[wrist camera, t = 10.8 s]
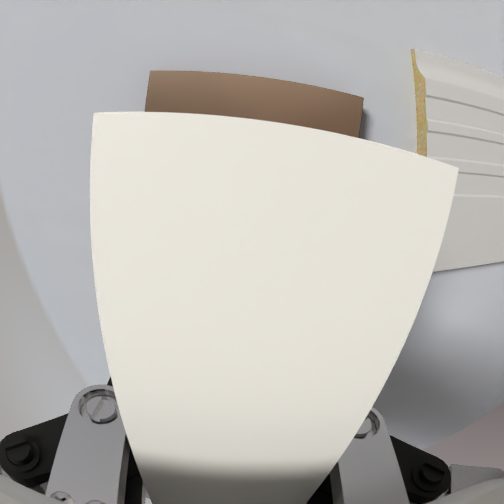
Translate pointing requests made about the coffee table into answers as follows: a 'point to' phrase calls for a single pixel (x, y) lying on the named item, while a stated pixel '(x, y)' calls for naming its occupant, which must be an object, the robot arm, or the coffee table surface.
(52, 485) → the robot arm
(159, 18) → the coffee table surface
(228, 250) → the cabinet door
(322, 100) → the hinge mount
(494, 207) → the baseboard molding
